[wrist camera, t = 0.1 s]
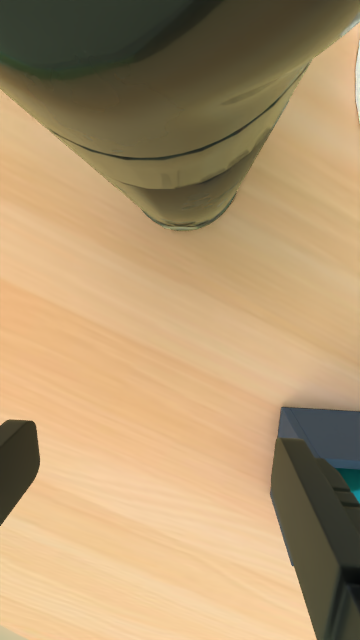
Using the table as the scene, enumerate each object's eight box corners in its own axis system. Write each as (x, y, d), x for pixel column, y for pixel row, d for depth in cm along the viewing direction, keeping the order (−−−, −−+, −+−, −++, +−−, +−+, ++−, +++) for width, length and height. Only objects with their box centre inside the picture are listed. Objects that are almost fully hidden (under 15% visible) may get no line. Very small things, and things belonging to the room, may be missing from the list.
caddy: (281, 406, 27) (309, 457, 20) (394, 413, 26) (463, 468, 19) (269, 494, 29) (291, 566, 22) (372, 502, 29) (426, 579, 22)
